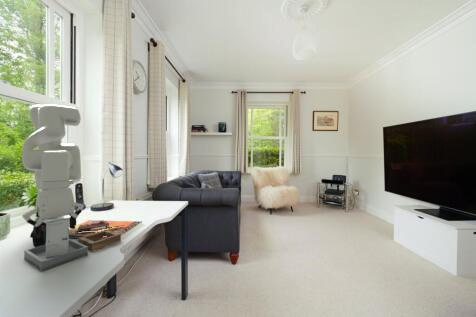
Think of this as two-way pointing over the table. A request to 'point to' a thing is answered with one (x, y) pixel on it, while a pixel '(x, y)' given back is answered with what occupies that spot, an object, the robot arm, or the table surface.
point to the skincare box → (57, 237)
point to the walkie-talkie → (94, 226)
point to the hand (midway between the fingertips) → (56, 232)
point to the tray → (42, 263)
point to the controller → (37, 240)
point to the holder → (100, 240)
